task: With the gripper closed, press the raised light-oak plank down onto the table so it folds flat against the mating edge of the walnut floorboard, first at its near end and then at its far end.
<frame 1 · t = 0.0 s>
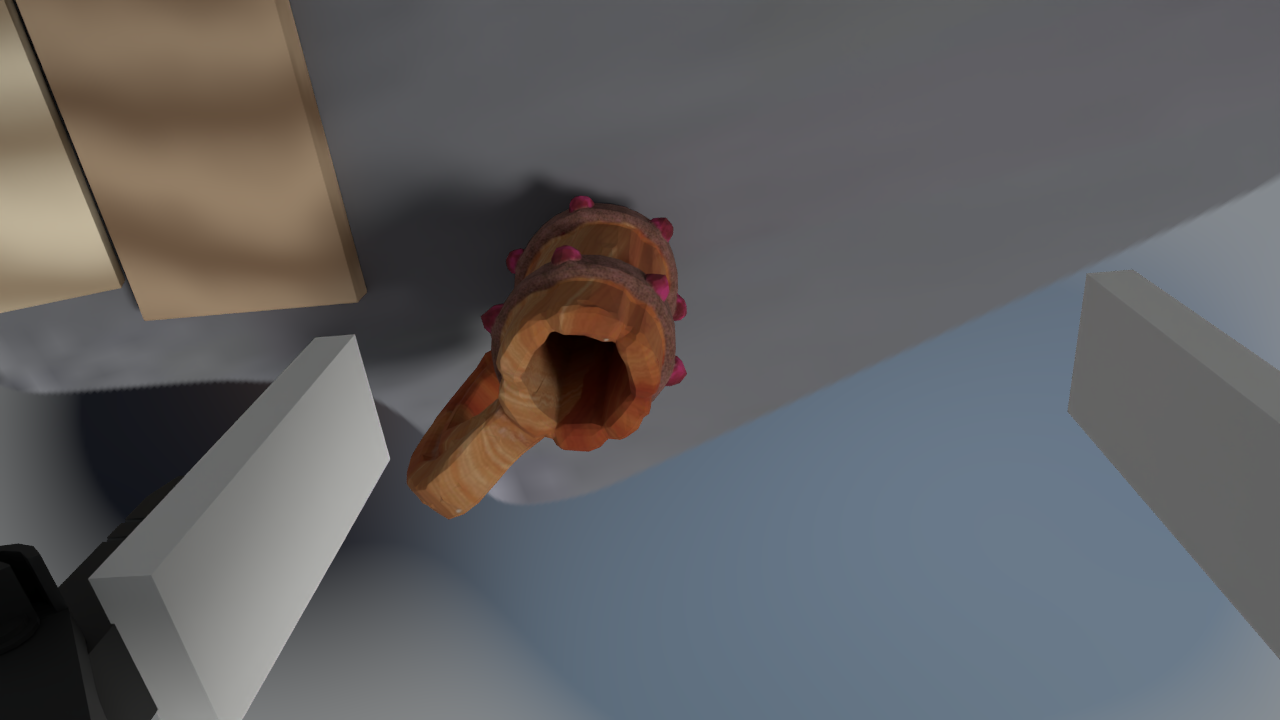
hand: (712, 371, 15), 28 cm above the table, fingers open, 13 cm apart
mug: (568, 290, 45), on the table
floorboard: (194, 95, 41), on the table
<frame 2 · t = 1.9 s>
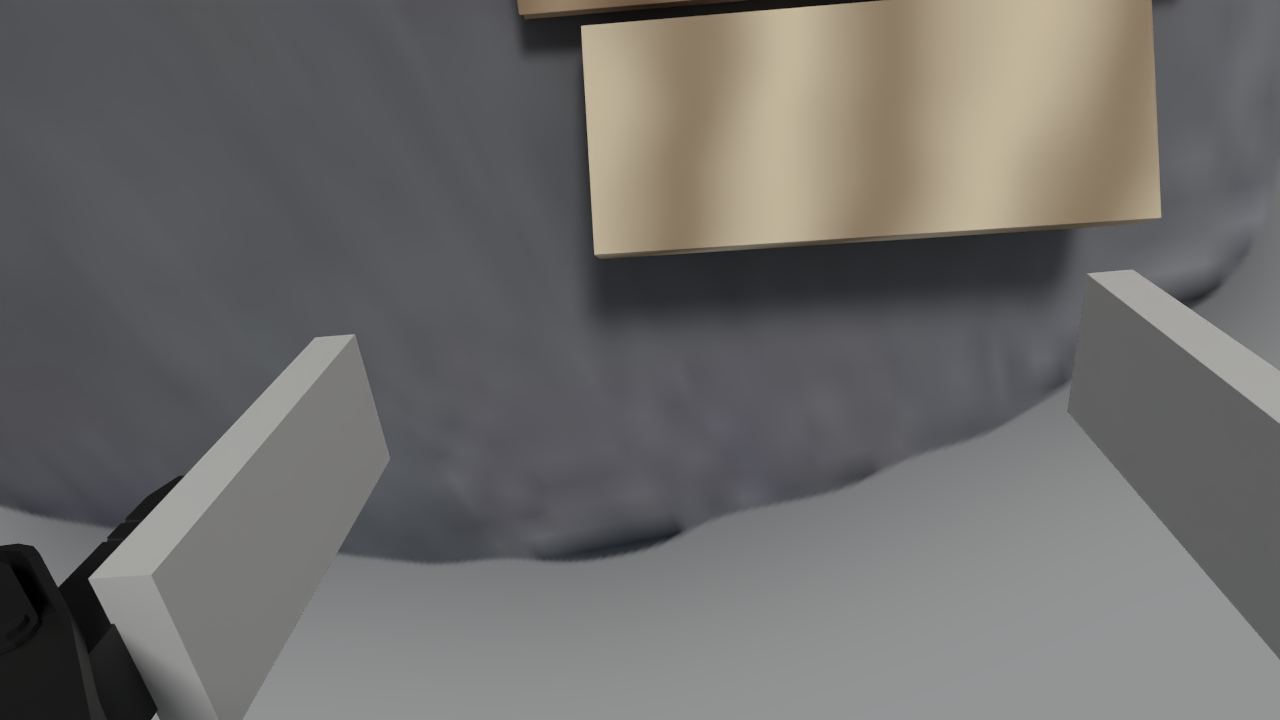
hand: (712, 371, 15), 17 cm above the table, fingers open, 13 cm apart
plank: (860, 125, 27), point 2 cm above the table, hinge at 25.0°
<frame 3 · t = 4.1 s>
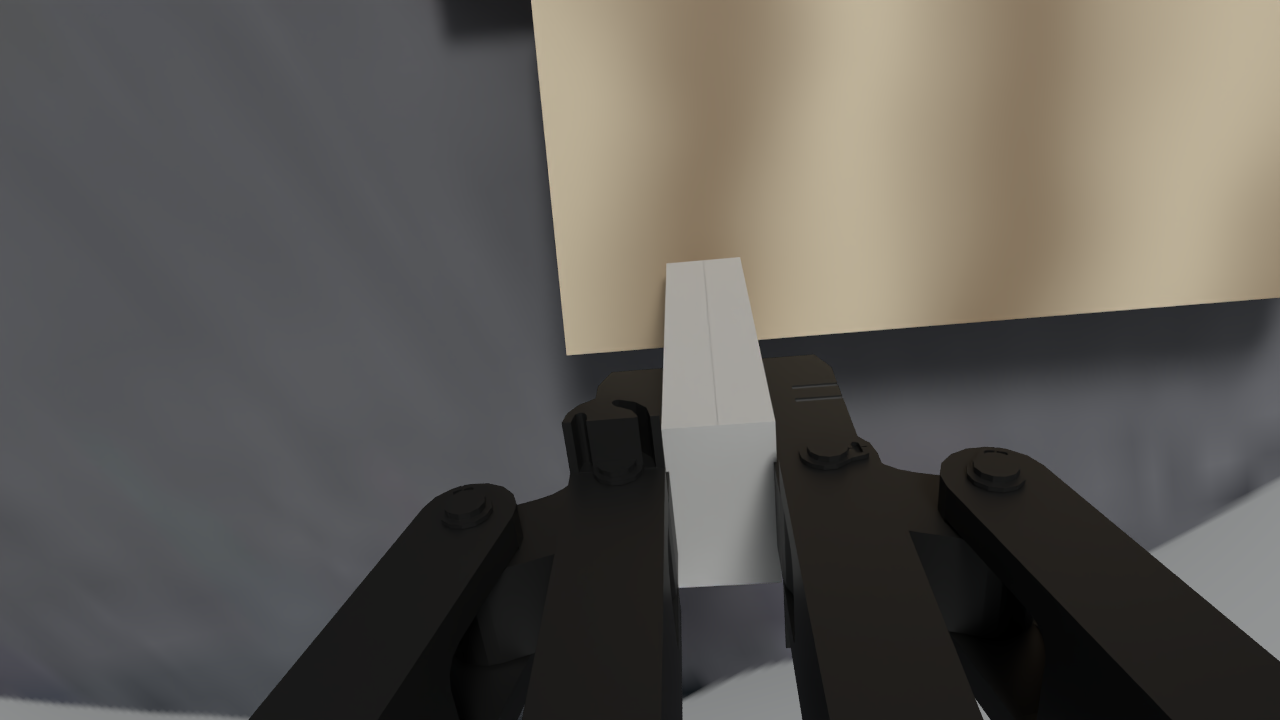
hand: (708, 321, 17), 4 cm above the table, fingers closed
plank: (976, 140, 17), point 2 cm above the table, hinge at 19.8°, touching gripper
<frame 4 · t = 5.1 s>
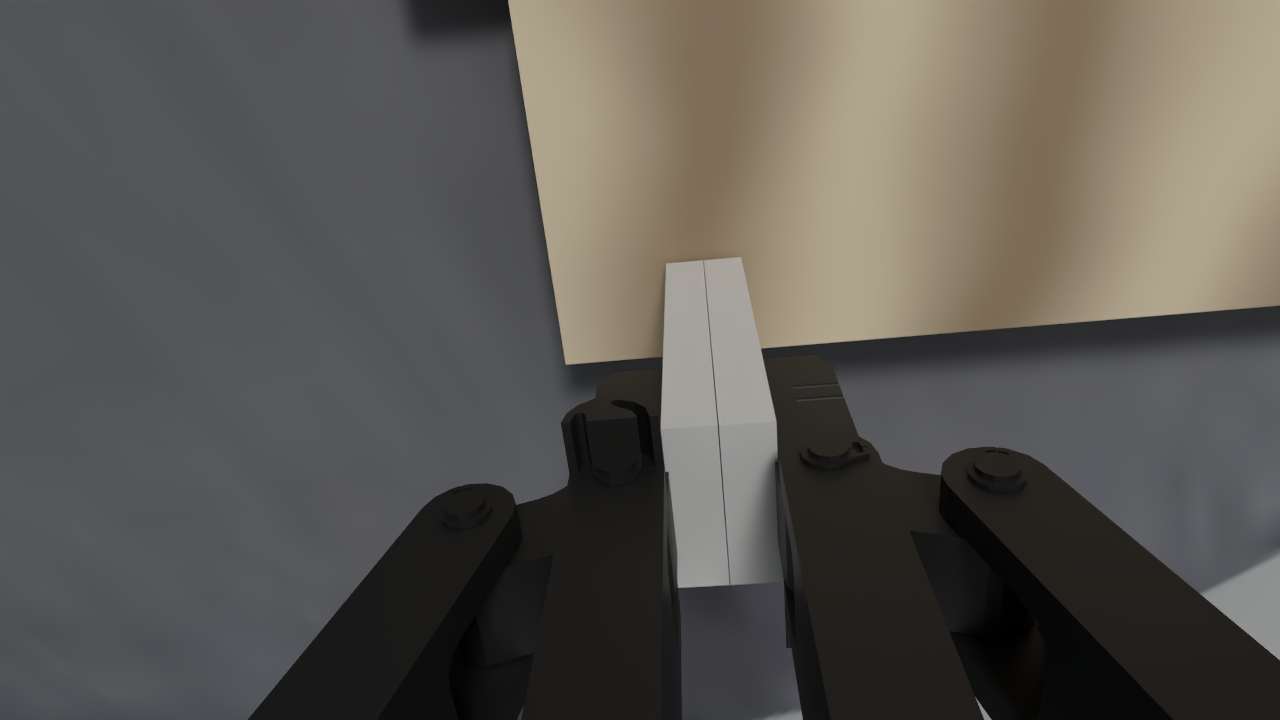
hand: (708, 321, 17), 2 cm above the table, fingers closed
plank: (993, 139, 16), point 1 cm above the table, hinge at 3.0°, touching gripper
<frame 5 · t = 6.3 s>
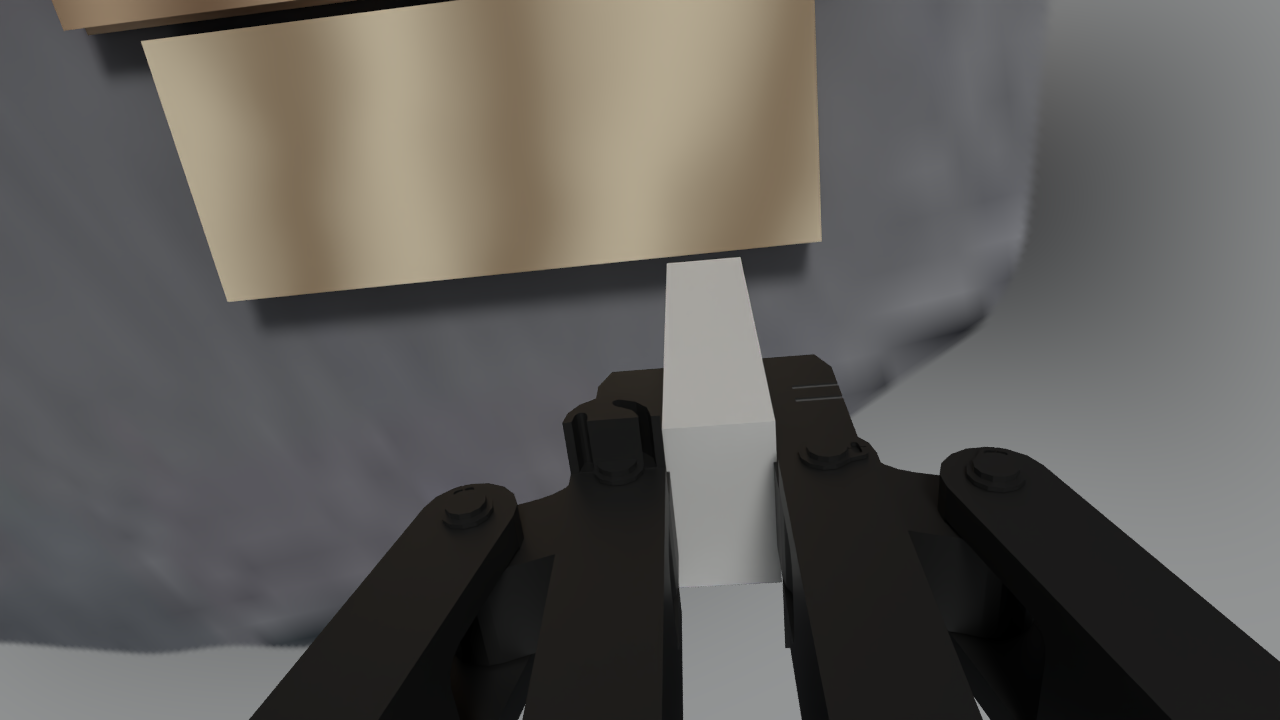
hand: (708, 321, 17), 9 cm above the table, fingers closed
plank: (497, 140, 24), point 1 cm above the table, hinge at 2.9°
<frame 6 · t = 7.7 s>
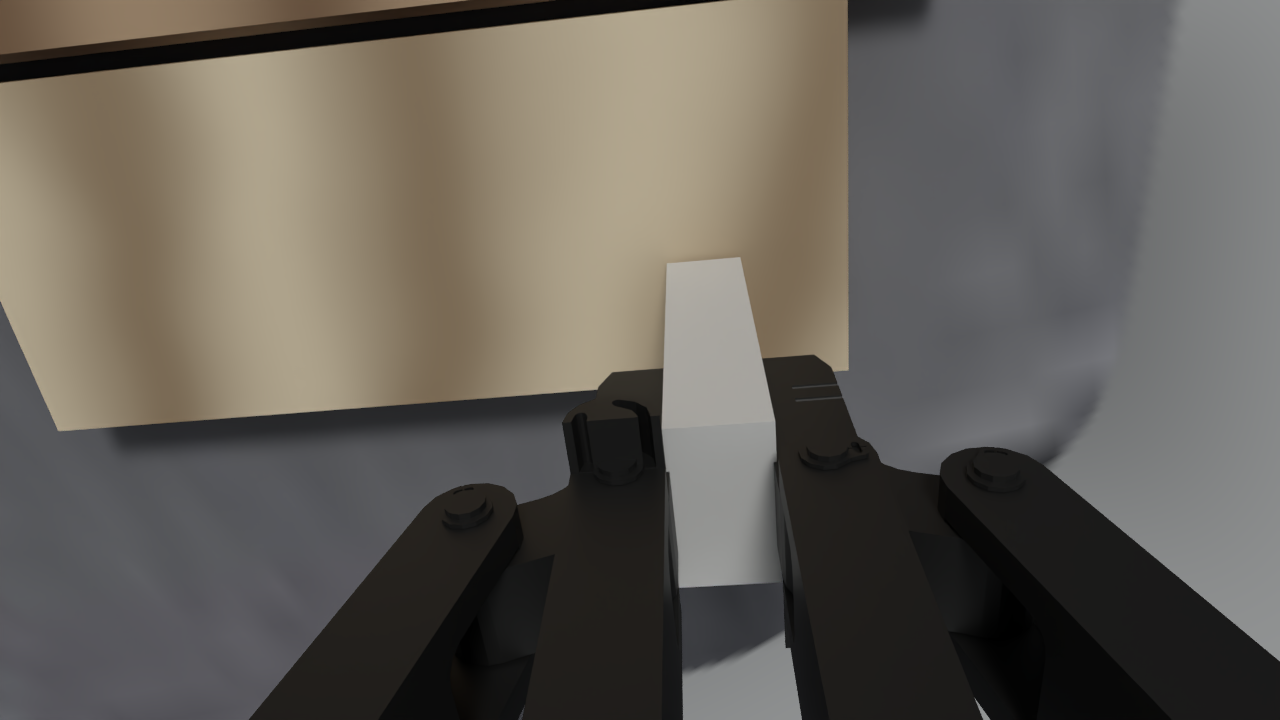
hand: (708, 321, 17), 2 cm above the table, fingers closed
plank: (411, 228, 17), point 1 cm above the table, hinge at 2.1°, touching gripper
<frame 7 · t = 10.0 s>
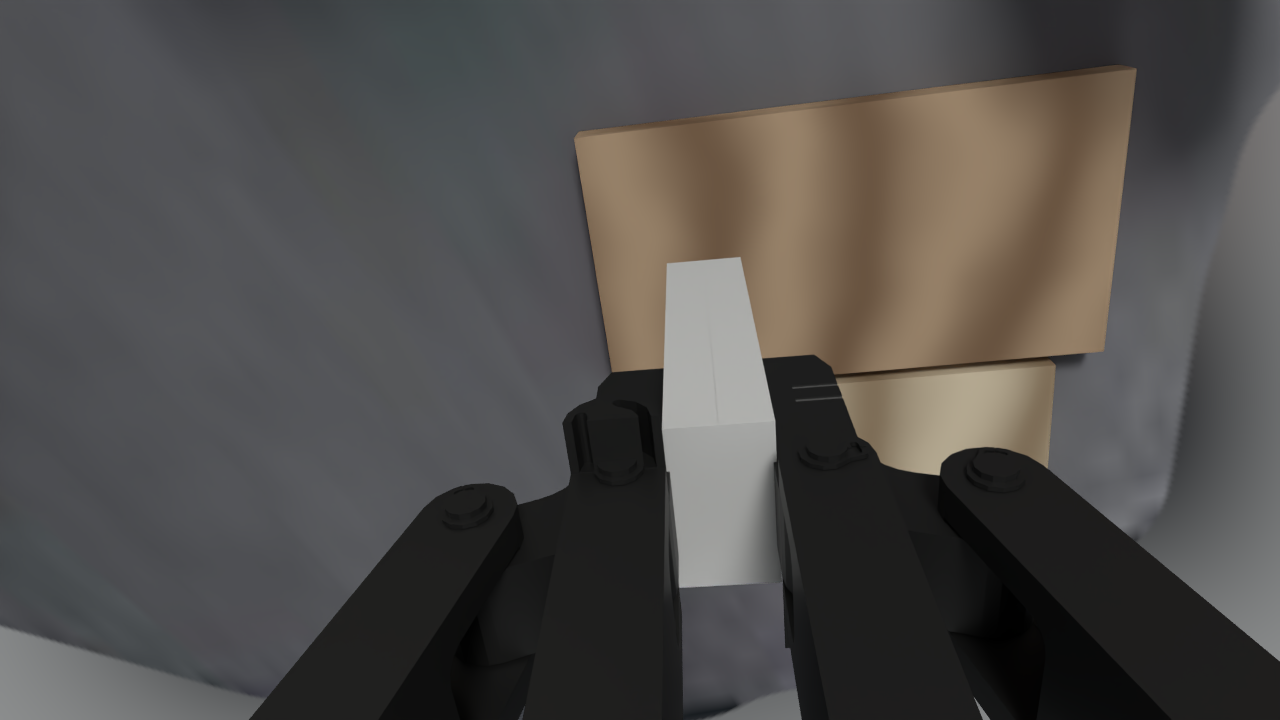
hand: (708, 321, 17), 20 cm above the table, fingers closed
floorboard: (842, 238, 37), on the table
plank: (851, 444, 40), point 1 cm above the table, hinge at 1.5°
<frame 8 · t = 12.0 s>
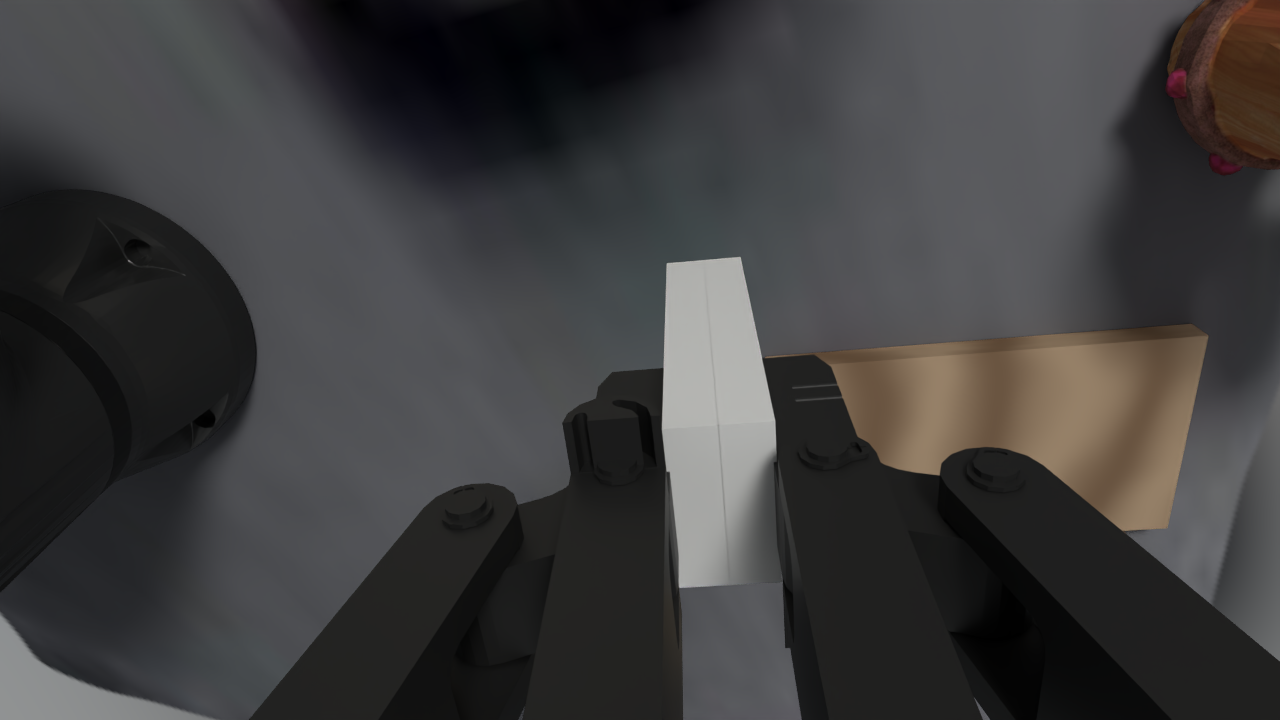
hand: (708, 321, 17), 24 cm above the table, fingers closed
mug: (1256, 102, 38), on the table
floorboard: (966, 437, 46), on the table
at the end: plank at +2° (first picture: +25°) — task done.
